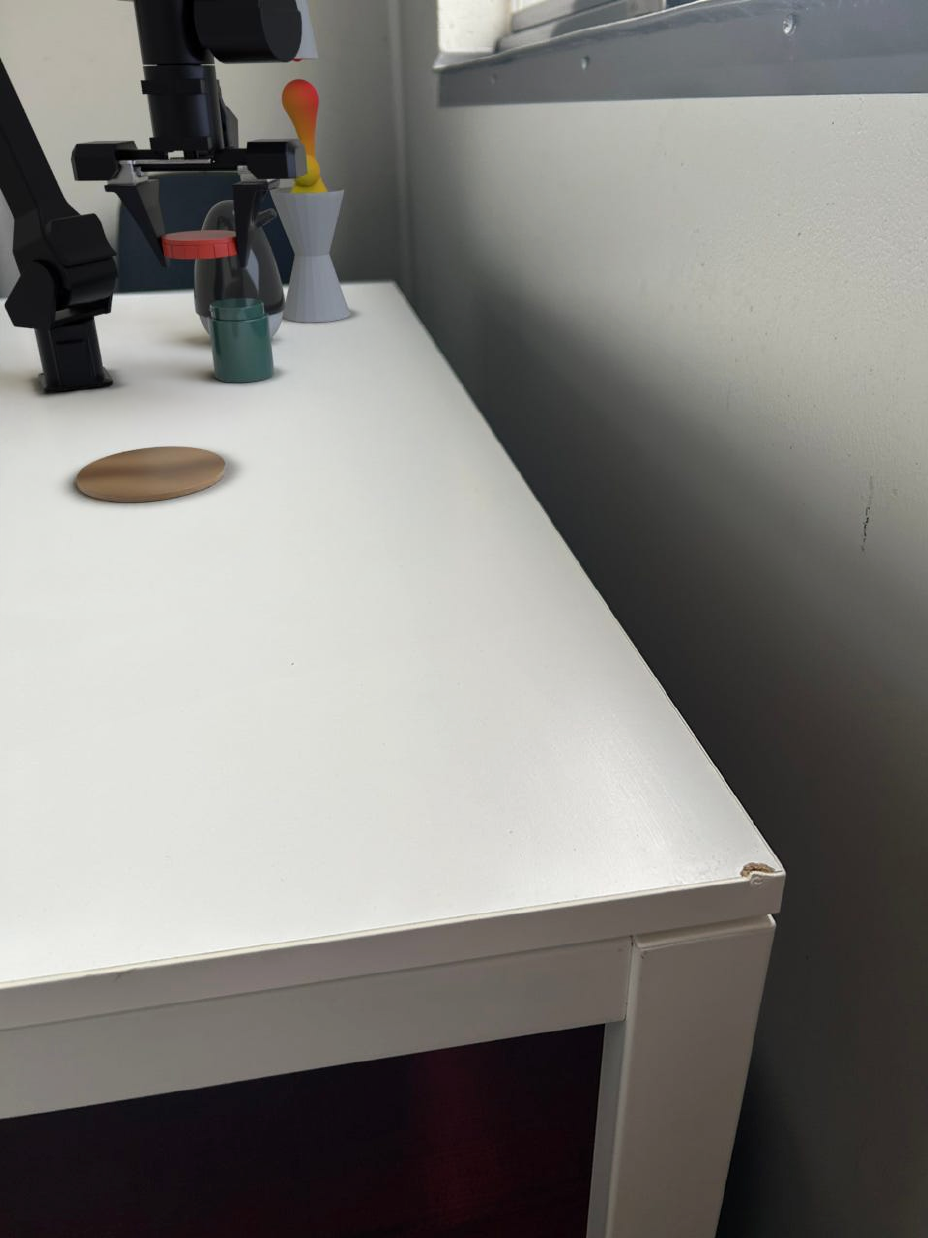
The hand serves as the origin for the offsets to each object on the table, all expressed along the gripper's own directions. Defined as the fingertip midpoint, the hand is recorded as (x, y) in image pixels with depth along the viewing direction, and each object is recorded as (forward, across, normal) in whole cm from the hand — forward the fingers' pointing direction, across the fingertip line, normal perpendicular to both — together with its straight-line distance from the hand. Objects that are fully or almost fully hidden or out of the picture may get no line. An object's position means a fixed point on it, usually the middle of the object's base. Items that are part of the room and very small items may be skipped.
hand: (205, 267), depth 87 cm
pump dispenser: (+12, +4, -25) cm, 28 cm away
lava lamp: (+12, -2, -39) cm, 41 cm away
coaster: (+12, 0, +20) cm, 23 cm away
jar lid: (-2, 0, 0) cm, 2 cm away
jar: (+12, 0, -10) cm, 15 cm away
